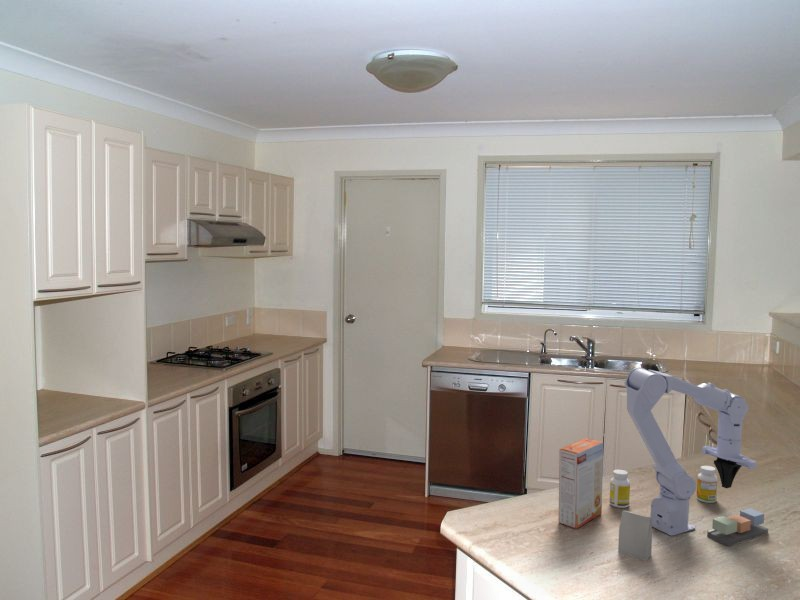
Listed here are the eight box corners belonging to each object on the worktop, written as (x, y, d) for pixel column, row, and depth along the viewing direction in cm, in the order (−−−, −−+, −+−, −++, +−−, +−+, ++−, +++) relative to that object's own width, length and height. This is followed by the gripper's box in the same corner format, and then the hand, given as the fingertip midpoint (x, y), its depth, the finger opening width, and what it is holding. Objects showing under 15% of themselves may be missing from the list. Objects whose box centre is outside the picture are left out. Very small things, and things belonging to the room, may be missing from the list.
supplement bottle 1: (632, 504, 186) (633, 471, 185) (624, 510, 182) (625, 476, 181) (614, 499, 190) (615, 467, 189) (606, 504, 186) (607, 471, 185)
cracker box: (582, 508, 183) (585, 436, 182) (602, 514, 179) (605, 441, 177) (556, 522, 174) (558, 447, 172) (576, 530, 169) (578, 452, 167)
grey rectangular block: (646, 560, 153) (647, 520, 153) (618, 552, 158) (619, 512, 157) (651, 555, 156) (653, 515, 155) (623, 546, 161) (625, 507, 160)
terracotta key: (740, 533, 165) (740, 523, 164) (726, 527, 168) (726, 517, 168) (750, 530, 166) (750, 520, 166) (735, 523, 170) (736, 514, 170)
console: (728, 546, 161) (728, 540, 161) (707, 536, 166) (707, 530, 166) (767, 533, 168) (768, 527, 168) (746, 524, 174) (746, 518, 174)
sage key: (726, 534, 162) (727, 525, 162) (712, 528, 165) (712, 518, 165) (736, 531, 164) (737, 521, 164) (722, 525, 167) (723, 515, 167)
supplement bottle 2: (699, 494, 194) (700, 463, 193) (718, 499, 191) (720, 467, 190) (694, 500, 190) (695, 468, 189) (713, 505, 186) (715, 472, 185)
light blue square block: (754, 526, 167) (754, 516, 167) (739, 520, 171) (740, 510, 170) (763, 523, 169) (764, 513, 169) (749, 517, 172) (749, 508, 172)
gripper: (764, 443, 167) (761, 493, 169) (714, 428, 180) (712, 475, 181) (747, 447, 164) (744, 498, 165) (697, 432, 177) (695, 479, 178)
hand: (726, 487), depth 173 cm, fingers closed
